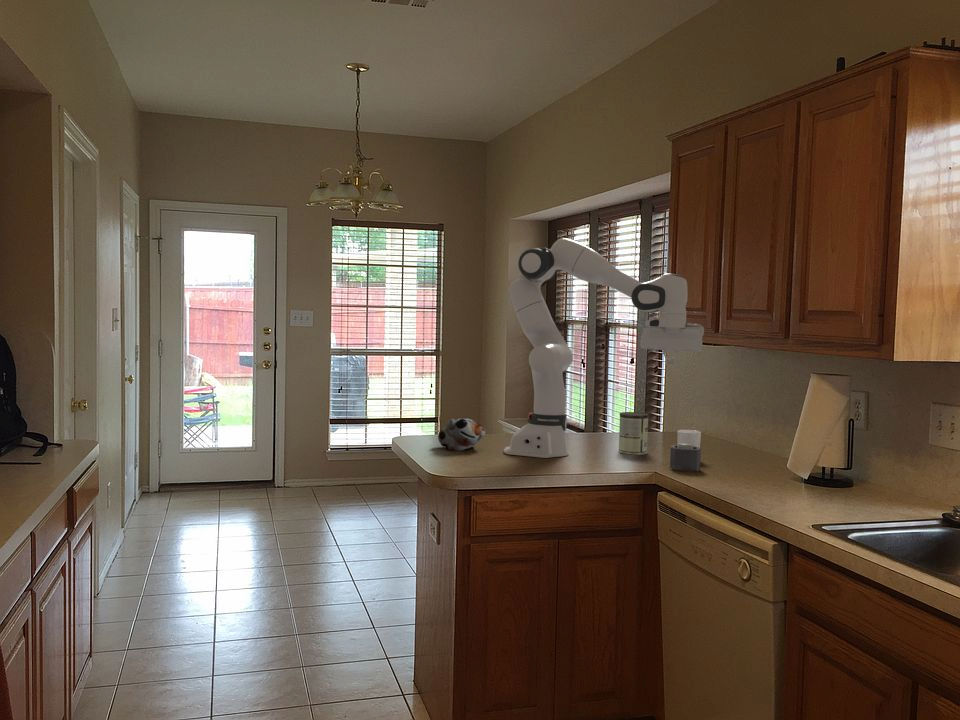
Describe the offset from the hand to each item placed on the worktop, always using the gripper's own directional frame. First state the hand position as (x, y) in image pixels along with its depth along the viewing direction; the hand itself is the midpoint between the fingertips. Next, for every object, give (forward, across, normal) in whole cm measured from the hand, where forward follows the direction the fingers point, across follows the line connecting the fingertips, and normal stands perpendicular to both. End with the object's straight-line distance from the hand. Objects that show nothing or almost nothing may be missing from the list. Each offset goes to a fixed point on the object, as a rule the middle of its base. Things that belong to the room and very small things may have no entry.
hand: (669, 363), depth 280 cm
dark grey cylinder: (+33, -6, +8) cm, 35 cm away
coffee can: (+34, +11, -19) cm, 40 cm away
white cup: (+34, -8, -10) cm, 36 cm away
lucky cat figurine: (+35, +71, -4) cm, 79 cm away
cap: (+30, -6, +8) cm, 31 cm away
